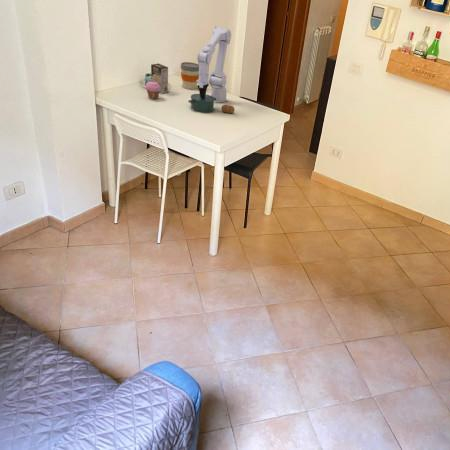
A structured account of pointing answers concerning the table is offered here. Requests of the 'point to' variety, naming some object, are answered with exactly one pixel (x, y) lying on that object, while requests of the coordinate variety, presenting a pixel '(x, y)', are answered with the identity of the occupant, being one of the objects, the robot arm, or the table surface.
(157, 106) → the table surface
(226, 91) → the robot arm
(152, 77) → the coffee box
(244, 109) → the table surface
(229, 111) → the brown cylinder
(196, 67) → the reusable coffee cup
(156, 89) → the cupcake
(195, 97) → the pot lid
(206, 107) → the pot
